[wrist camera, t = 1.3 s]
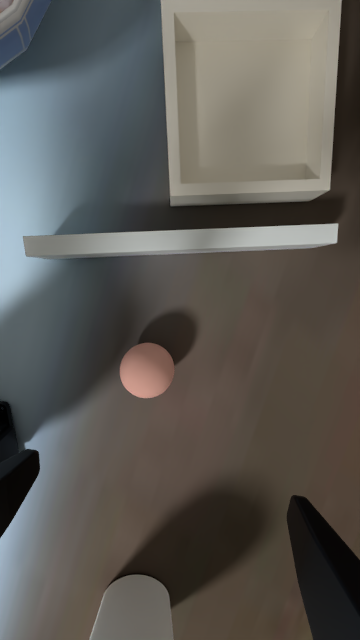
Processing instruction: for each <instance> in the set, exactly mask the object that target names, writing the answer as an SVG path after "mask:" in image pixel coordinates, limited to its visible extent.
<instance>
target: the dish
mask: <svg viewBox="0 0 360 640" xmlns="http://www.w3.org/2000/svg"><path fill="white" fill-rule="evenodd" d="M341 3H342V0H161V17H162V42H163V62H164V83H165V104H166V124H167V145H168V166H169V187H170V206H196V205H222V204H248V203H274V202H301V201H311V200H313V199H314V198H316V197H318V196H320V195H322V194H324V193H326V192H327V191H329V190H330V181H331V165H332V149H333V132H334V116H335V100H336V84H337V68H338V52H339V36H340V19H341Z"/></svg>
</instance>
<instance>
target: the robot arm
mask: <svg viewBox="0 0 360 640" xmlns="http://www.w3.org/2000/svg"><path fill="white" fill-rule="evenodd" d="M1 407H2V408H3V409H4V410H3V409H1ZM39 470H40V463H39V452H38V451H37V450H31V449H26V450H23V451H22V452H20V453H19V451H18V445H17V440H16V434H15V429H14V426H13V421H12V415H11V410H10V406H9V404H8V403H7V402H4V401H0V538H1V536H2V535H3V533H4V532H5V530H6V529H7V527H8V526H9V524H10V523H11V521H12V520H13V518H14V516H15V515H16V513H17V511H18V509H19V508H20V506H21V504H22V502H23V501H24V499H25V497H26V495H27V494H28V492H29V490H30V488H31V487H32V485H33V483H34V481H35V480H36V478H37V476H38V474H39ZM287 524H288V529H289V535H290V540H291V546H292V551H293V557H294V562H295V568H296V573H297V578H298V583H299V587H300V591H301V595H302V599H303V603H304V606H305V610H306V614H307V618H308V621H309V625H310V629H311V633H312V636H313V640H360V560H359V559H358V557H357V556H356V555H355V554H354V553H353V552H352V550H351V549H350V548H349V547H348V546H347V545H346V543H345V542H344V541H343V540H342V539H341V538H340V536H339V535H338V534H337V533H336V532H335V531H334V529H333V528H332V527H331V526H330V525H329V524H328V523H327V521H326V520H325V519H324V518H323V517H322V516H321V514H320V513H319V512H318V511H317V510H316V509H315V507H314V506H313V505H312V504H311V503H310V502H309V500H308V499H307V498H305V497H303V496H297V495H293V496H292V497H291V500H290V504H289V507H288V511H287Z"/></svg>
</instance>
